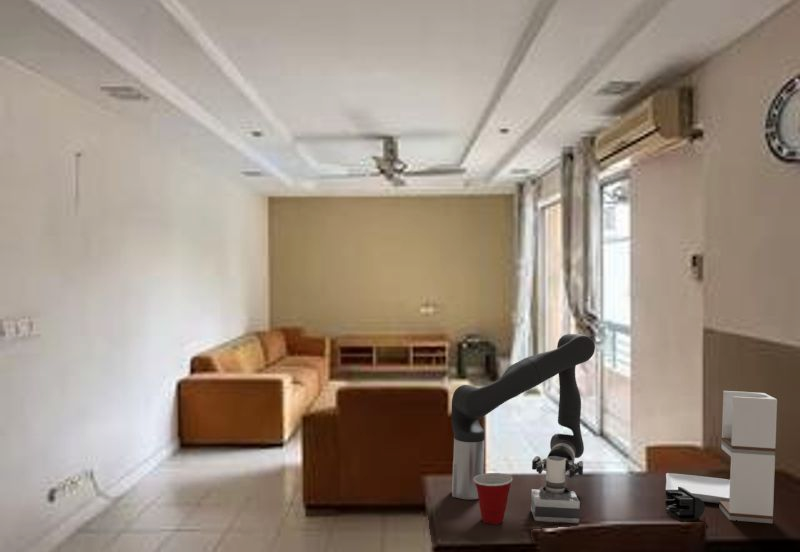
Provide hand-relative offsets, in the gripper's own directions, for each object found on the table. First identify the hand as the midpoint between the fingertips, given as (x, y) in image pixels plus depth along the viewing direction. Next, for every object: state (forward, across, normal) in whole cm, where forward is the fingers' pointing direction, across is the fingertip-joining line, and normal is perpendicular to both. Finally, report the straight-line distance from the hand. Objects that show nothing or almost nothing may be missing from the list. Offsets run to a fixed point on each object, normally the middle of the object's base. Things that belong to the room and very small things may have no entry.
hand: (555, 472), depth 201 cm
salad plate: (-42, +41, +14) cm, 60 cm away
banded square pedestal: (-2, 0, +13) cm, 13 cm away
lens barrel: (-2, 0, +7) cm, 7 cm away
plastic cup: (+9, -16, +13) cm, 22 cm away
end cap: (-18, +35, +13) cm, 42 cm away
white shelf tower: (-25, +52, +13) cm, 59 cm away
